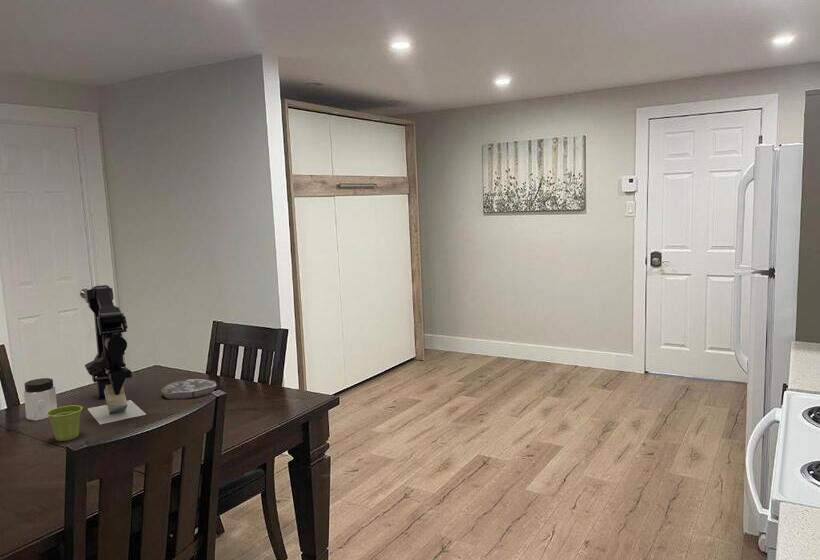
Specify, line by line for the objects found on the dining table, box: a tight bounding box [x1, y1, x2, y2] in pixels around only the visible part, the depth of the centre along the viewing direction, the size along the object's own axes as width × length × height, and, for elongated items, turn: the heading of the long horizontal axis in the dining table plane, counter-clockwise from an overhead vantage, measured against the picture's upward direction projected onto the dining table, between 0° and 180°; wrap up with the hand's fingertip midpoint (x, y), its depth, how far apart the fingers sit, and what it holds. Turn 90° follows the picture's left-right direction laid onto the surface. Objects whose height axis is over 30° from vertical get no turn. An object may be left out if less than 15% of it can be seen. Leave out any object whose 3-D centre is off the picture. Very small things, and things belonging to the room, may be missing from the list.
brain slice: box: [160, 378, 217, 400], centre depth 226 cm, size 20×17×3 cm
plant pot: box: [46, 405, 83, 442], centre depth 183 cm, size 9×9×9 cm
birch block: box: [104, 384, 128, 414], centre depth 204 cm, size 5×5×8 cm
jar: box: [23, 377, 58, 422], centre depth 202 cm, size 9×8×12 cm
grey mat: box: [87, 399, 147, 425], centre depth 205 cm, size 20×14×1 cm
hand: (117, 394), depth 202 cm, fingers closed
